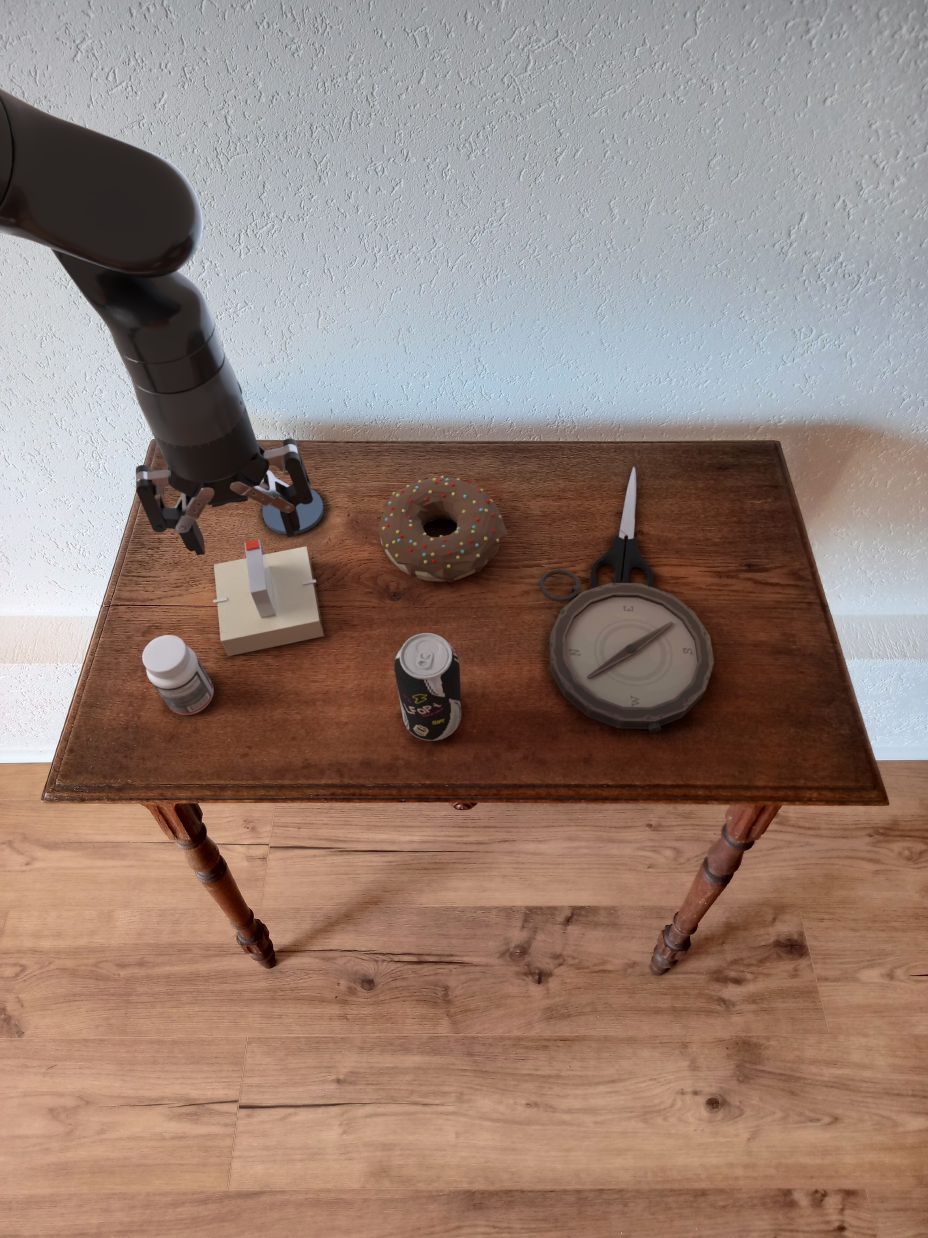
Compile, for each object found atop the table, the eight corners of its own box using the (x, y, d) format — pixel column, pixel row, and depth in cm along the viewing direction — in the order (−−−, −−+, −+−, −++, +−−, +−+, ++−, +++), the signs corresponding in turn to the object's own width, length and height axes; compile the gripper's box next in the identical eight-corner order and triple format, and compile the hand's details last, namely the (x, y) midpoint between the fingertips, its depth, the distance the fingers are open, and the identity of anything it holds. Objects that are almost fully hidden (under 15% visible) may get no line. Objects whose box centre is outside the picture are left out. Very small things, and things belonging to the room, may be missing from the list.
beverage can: (396, 737, 78) (384, 676, 68) (412, 686, 81) (402, 621, 71) (454, 749, 77) (450, 689, 67) (467, 697, 80) (465, 633, 70)
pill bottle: (171, 675, 82) (143, 630, 75) (218, 674, 82) (193, 630, 75) (162, 717, 80) (132, 675, 73) (210, 716, 80) (184, 674, 73)
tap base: (224, 657, 83) (216, 641, 81) (217, 581, 89) (209, 563, 86) (327, 635, 85) (322, 619, 82) (314, 562, 90) (309, 544, 87)
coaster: (266, 540, 92) (265, 536, 91) (260, 495, 96) (259, 491, 95) (327, 528, 93) (327, 524, 92) (319, 484, 96) (318, 480, 96)
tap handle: (276, 614, 83) (265, 587, 79) (260, 618, 82) (249, 591, 78) (269, 565, 86) (259, 537, 82) (254, 568, 86) (243, 540, 82)
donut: (365, 578, 89) (359, 549, 85) (402, 487, 96) (398, 457, 92) (491, 604, 86) (491, 576, 82) (519, 510, 94) (521, 480, 90)
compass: (730, 727, 78) (736, 719, 76) (563, 745, 77) (565, 736, 76) (679, 559, 89) (683, 548, 87) (532, 573, 88) (533, 563, 86)
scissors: (601, 466, 97) (587, 602, 86) (602, 461, 96) (588, 598, 85) (658, 473, 96) (650, 611, 86) (659, 467, 95) (652, 606, 85)
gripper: (102, 459, 61) (172, 585, 74) (291, 424, 62) (326, 554, 76) (103, 393, 65) (169, 524, 78) (280, 362, 66) (315, 496, 80)
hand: (246, 539), depth 77 cm, fingers open, 8 cm apart
